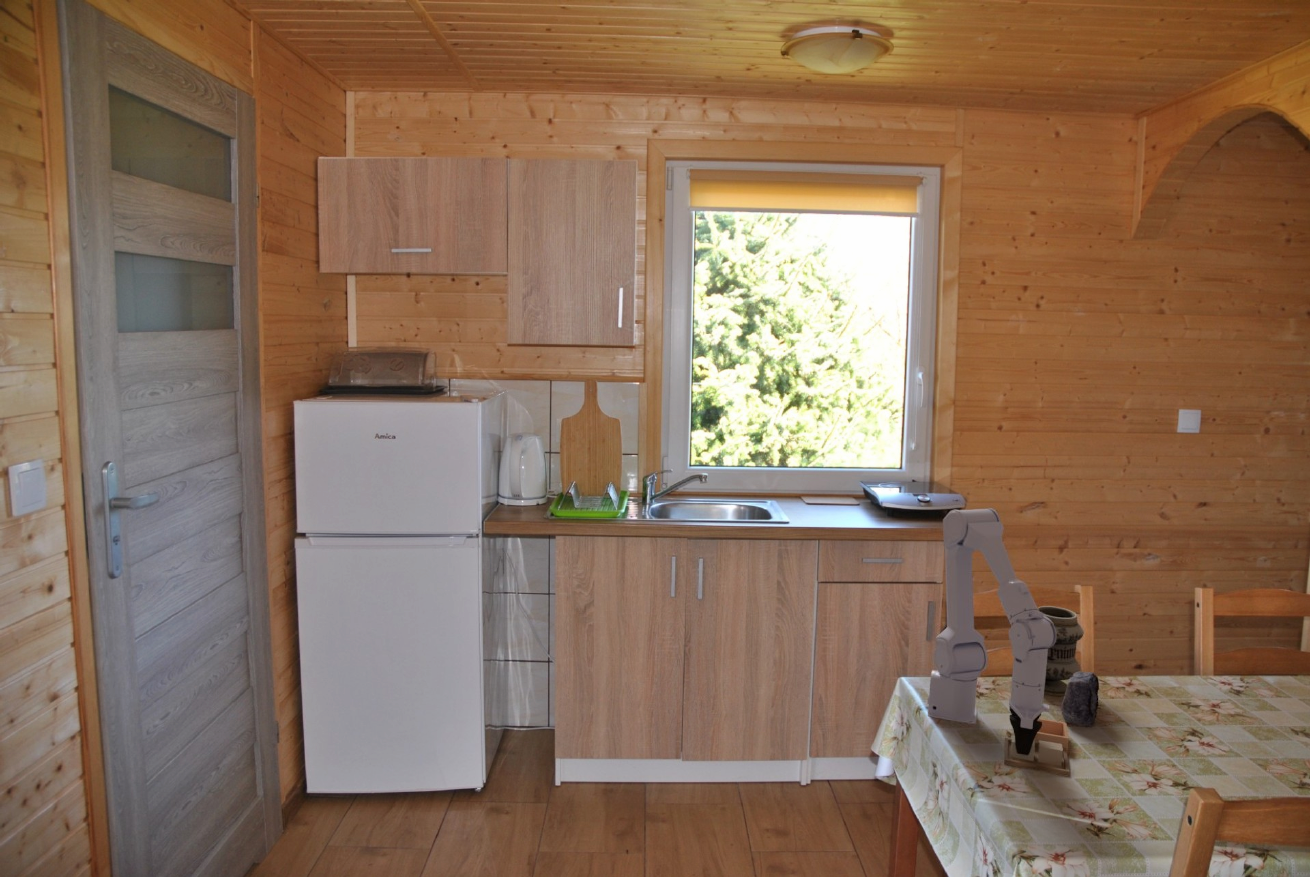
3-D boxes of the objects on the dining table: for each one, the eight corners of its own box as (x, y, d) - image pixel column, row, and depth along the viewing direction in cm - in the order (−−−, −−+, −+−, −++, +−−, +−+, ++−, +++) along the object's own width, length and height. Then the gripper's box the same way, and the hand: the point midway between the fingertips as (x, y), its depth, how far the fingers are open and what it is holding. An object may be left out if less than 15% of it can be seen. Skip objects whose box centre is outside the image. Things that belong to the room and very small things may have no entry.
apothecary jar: (1066, 703, 200) (1073, 623, 198) (1012, 687, 208) (1018, 610, 206) (1085, 688, 209) (1093, 612, 207) (1032, 673, 217) (1039, 599, 215)
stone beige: (1038, 762, 171) (1039, 746, 171) (1037, 755, 174) (1038, 740, 174) (1061, 766, 170) (1062, 750, 170) (1060, 759, 173) (1061, 744, 172)
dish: (1013, 744, 179) (1015, 729, 179) (1013, 729, 186) (1014, 714, 186) (1067, 754, 176) (1068, 738, 175) (1064, 738, 183) (1066, 722, 182)
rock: (1088, 733, 185) (1092, 684, 184) (1059, 725, 189) (1063, 677, 188) (1100, 717, 193) (1104, 670, 192) (1072, 710, 197) (1076, 663, 196)
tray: (1004, 766, 170) (1004, 759, 170) (1004, 743, 179) (1004, 737, 179) (1068, 778, 166) (1069, 771, 166) (1065, 754, 176) (1066, 748, 175)
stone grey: (1010, 757, 173) (1011, 741, 173) (1010, 750, 176) (1011, 735, 175) (1033, 761, 172) (1034, 745, 171) (1033, 754, 174) (1034, 739, 174)
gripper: (1053, 698, 164) (1046, 770, 165) (1049, 671, 177) (1043, 737, 179) (1011, 692, 166) (1005, 763, 168) (1010, 665, 180) (1005, 731, 181)
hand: (1022, 749), depth 174 cm, fingers closed on stone grey, 3 cm apart
